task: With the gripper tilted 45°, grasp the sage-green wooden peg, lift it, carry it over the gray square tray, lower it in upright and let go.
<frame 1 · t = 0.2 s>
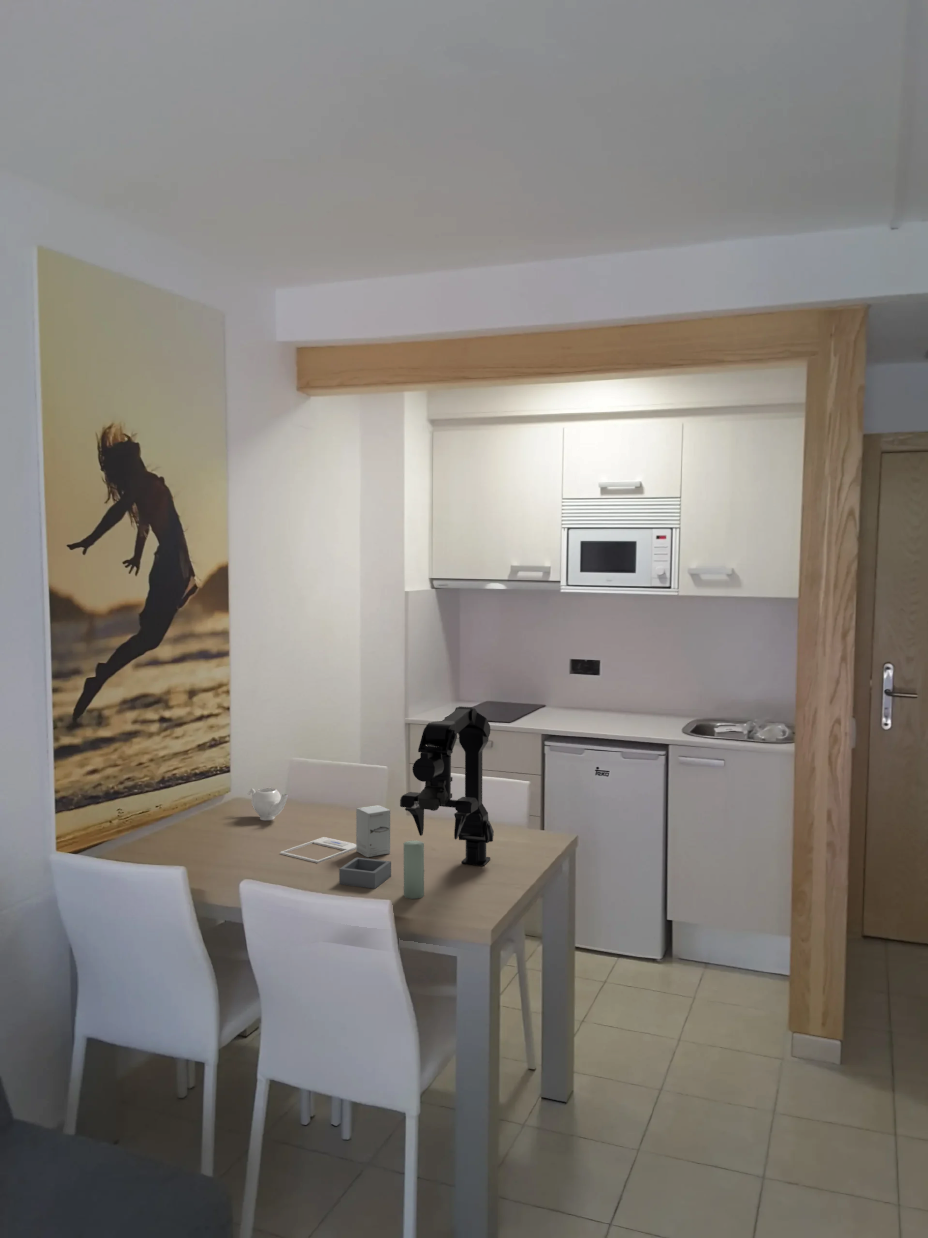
hand: (438, 837, 239), 15 cm above the table, tool pointing down, fingers open, 9 cm apart
supplement box: (373, 853, 274), on the table
gray square tray: (365, 880, 251), on the table
sage peg: (413, 895, 240), on the table
teapot: (267, 819, 309), on the table
photo frame: (321, 852, 276), on the table
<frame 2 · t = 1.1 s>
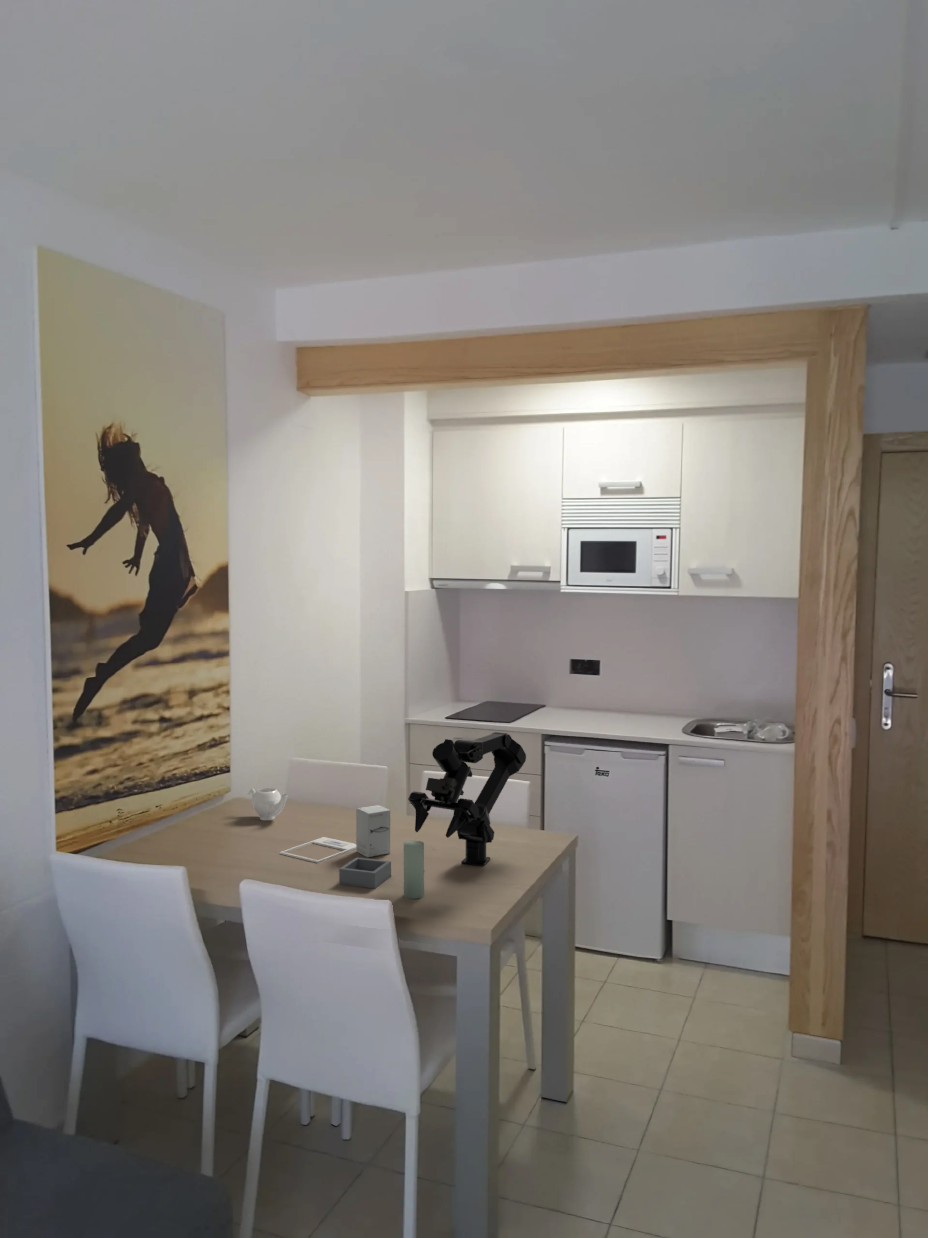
hand: (431, 834, 246), 13 cm above the table, tool tilted 45°, fingers open, 9 cm apart
nothing on the table moved.
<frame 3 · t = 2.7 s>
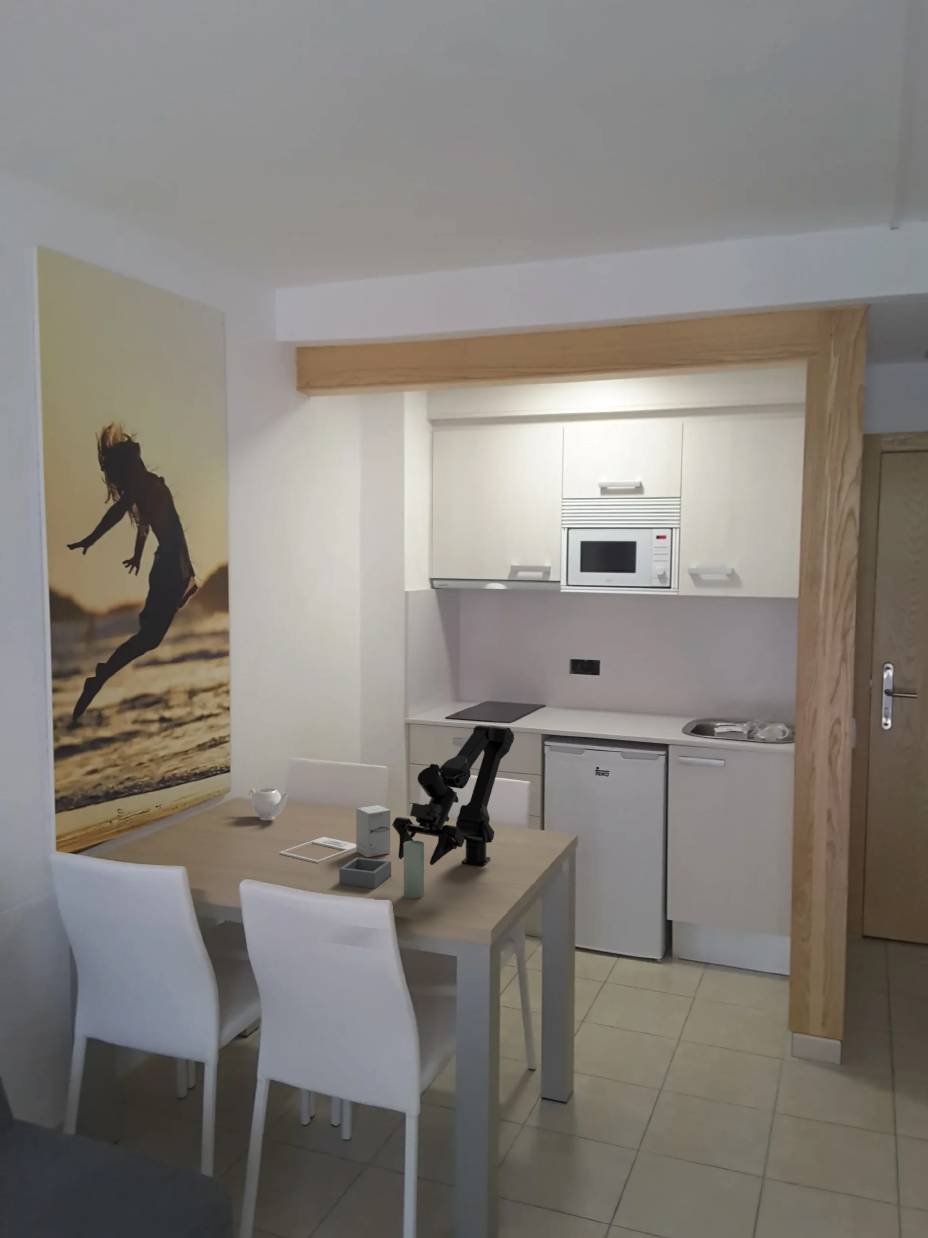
hand: (415, 861, 240), 8 cm above the table, tool tilted 45°, fingers open, 9 cm apart
nothing on the table moved.
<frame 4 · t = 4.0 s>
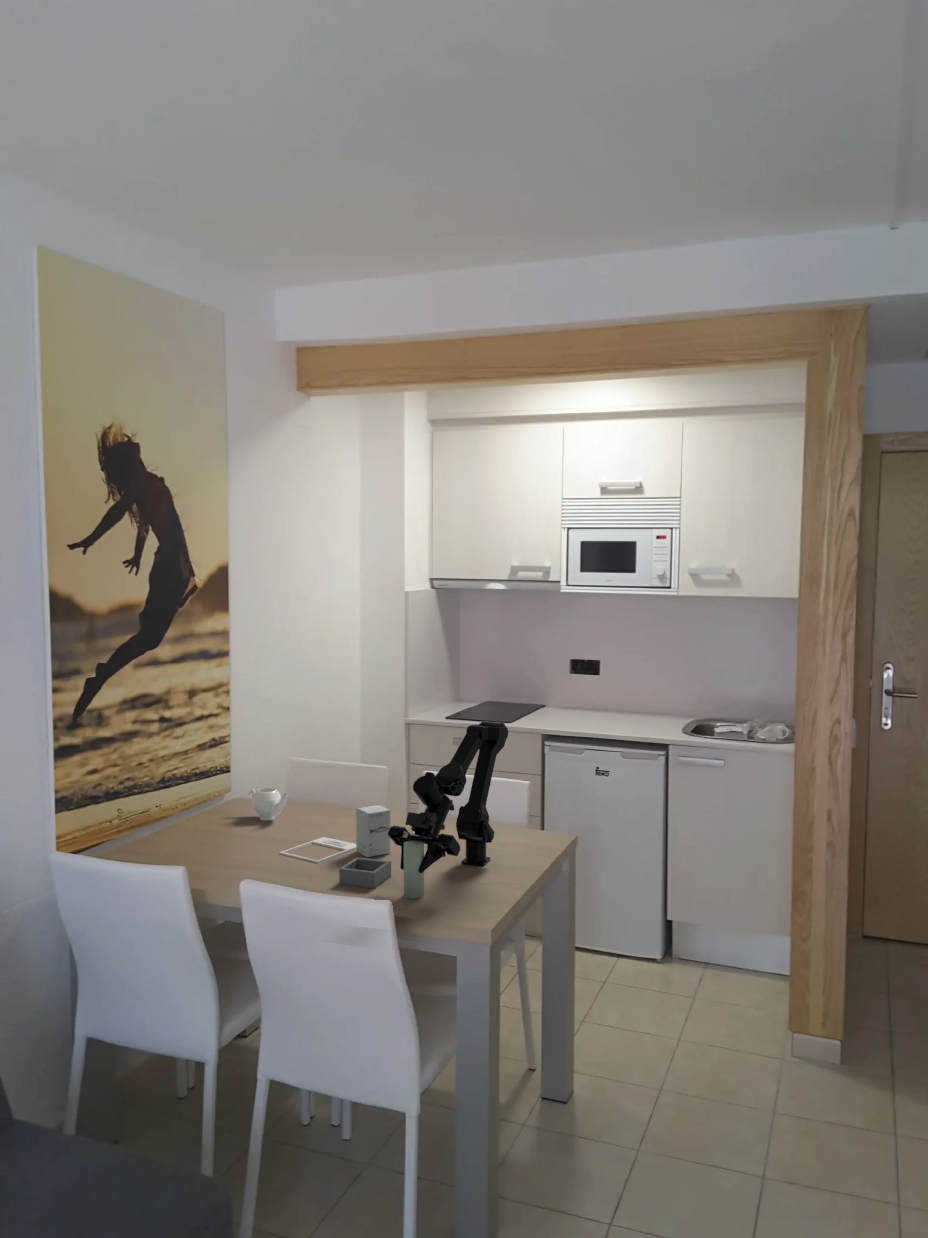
hand: (410, 870, 238), 7 cm above the table, tool tilted 45°, fingers closed on sage peg, 5 cm apart
sage peg: (413, 895, 240), on the table, touching gripper
everything else where it was.
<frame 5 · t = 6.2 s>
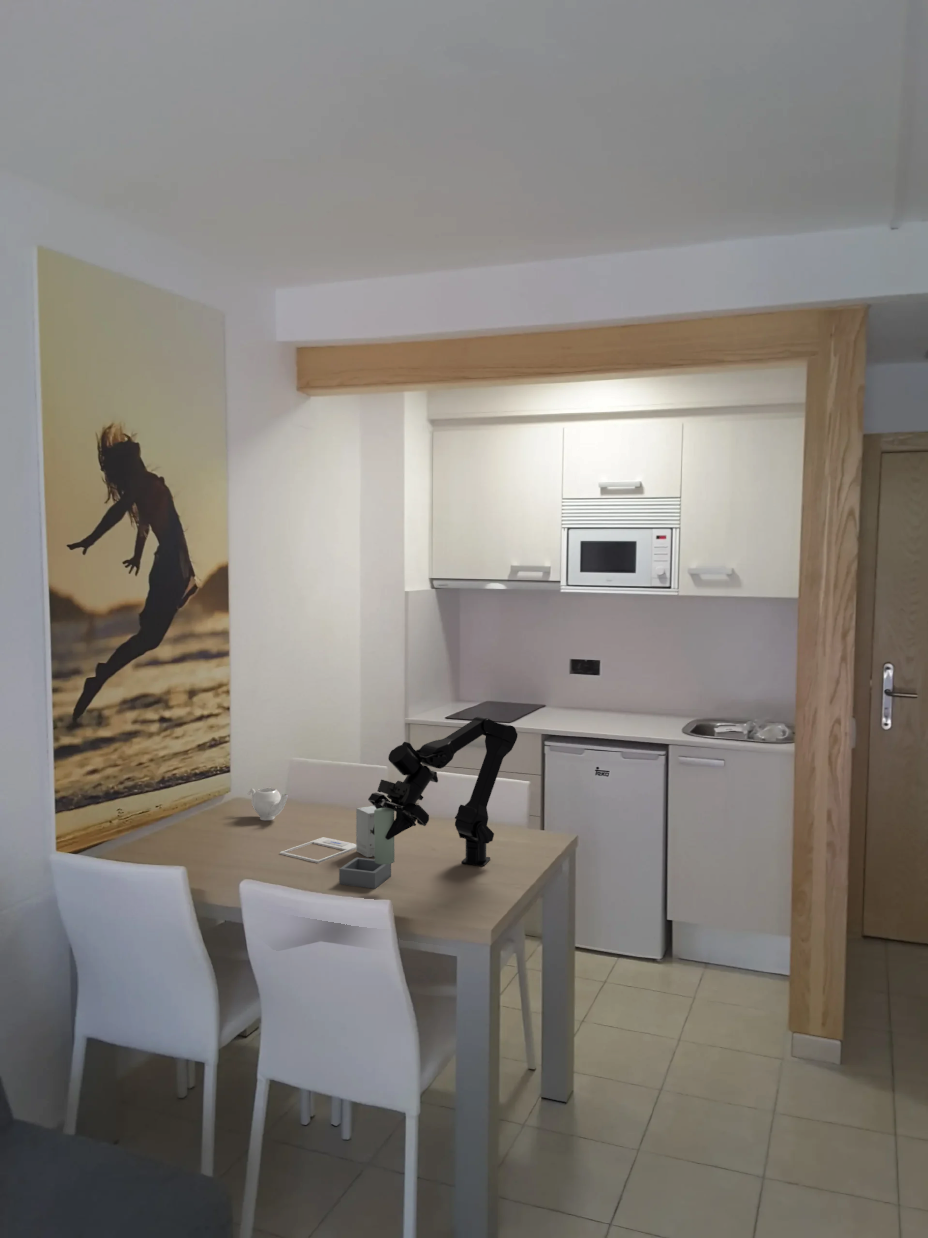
hand: (380, 836, 243), 14 cm above the table, tool tilted 45°, fingers closed on sage peg, 5 cm apart
sage peg: (384, 861, 244), point 7 cm above the table, touching gripper
everything else where it was.
when the fingers open (9 cm above the table, at t = 8.5 s): sage peg drops 1 cm, resting on gray square tray.
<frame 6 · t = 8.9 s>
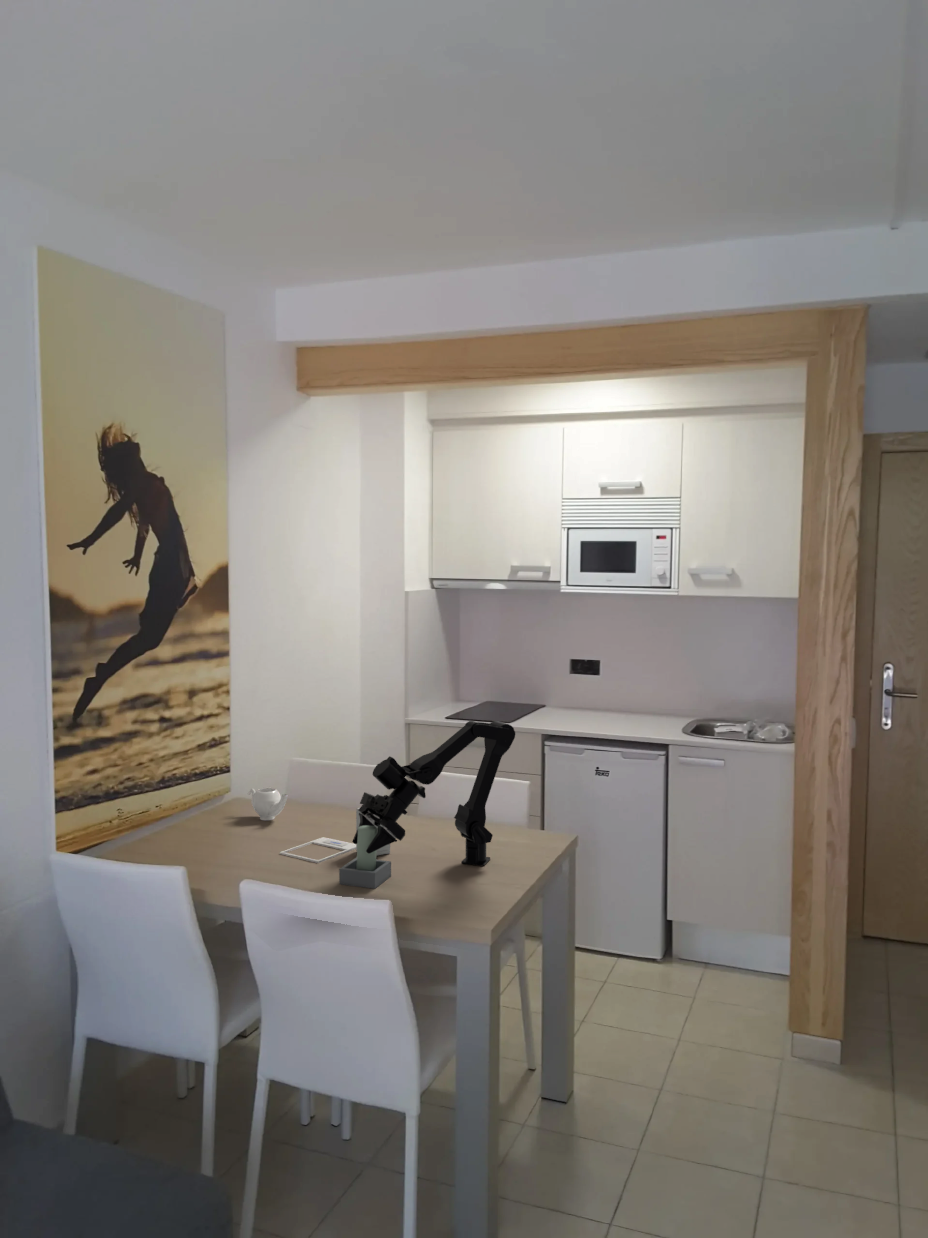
hand: (360, 847, 249), 9 cm above the table, tool tilted 45°, fingers open, 9 cm apart
sage peg: (365, 877, 250), point 1 cm above the table, touching gray square tray
everything else where it was.
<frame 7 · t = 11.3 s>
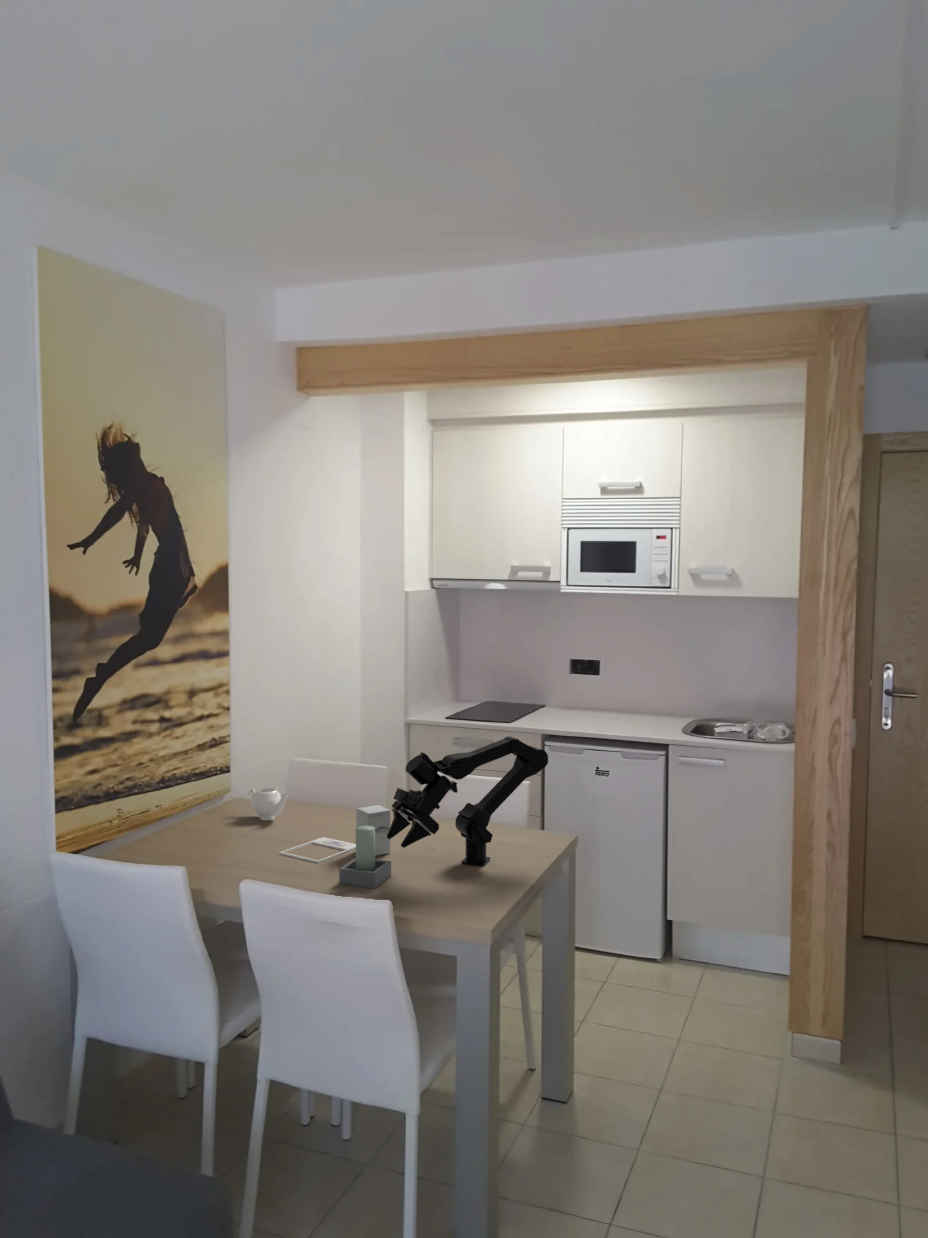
hand: (394, 842, 254), 9 cm above the table, tool tilted 45°, fingers open, 9 cm apart
nothing on the table moved.
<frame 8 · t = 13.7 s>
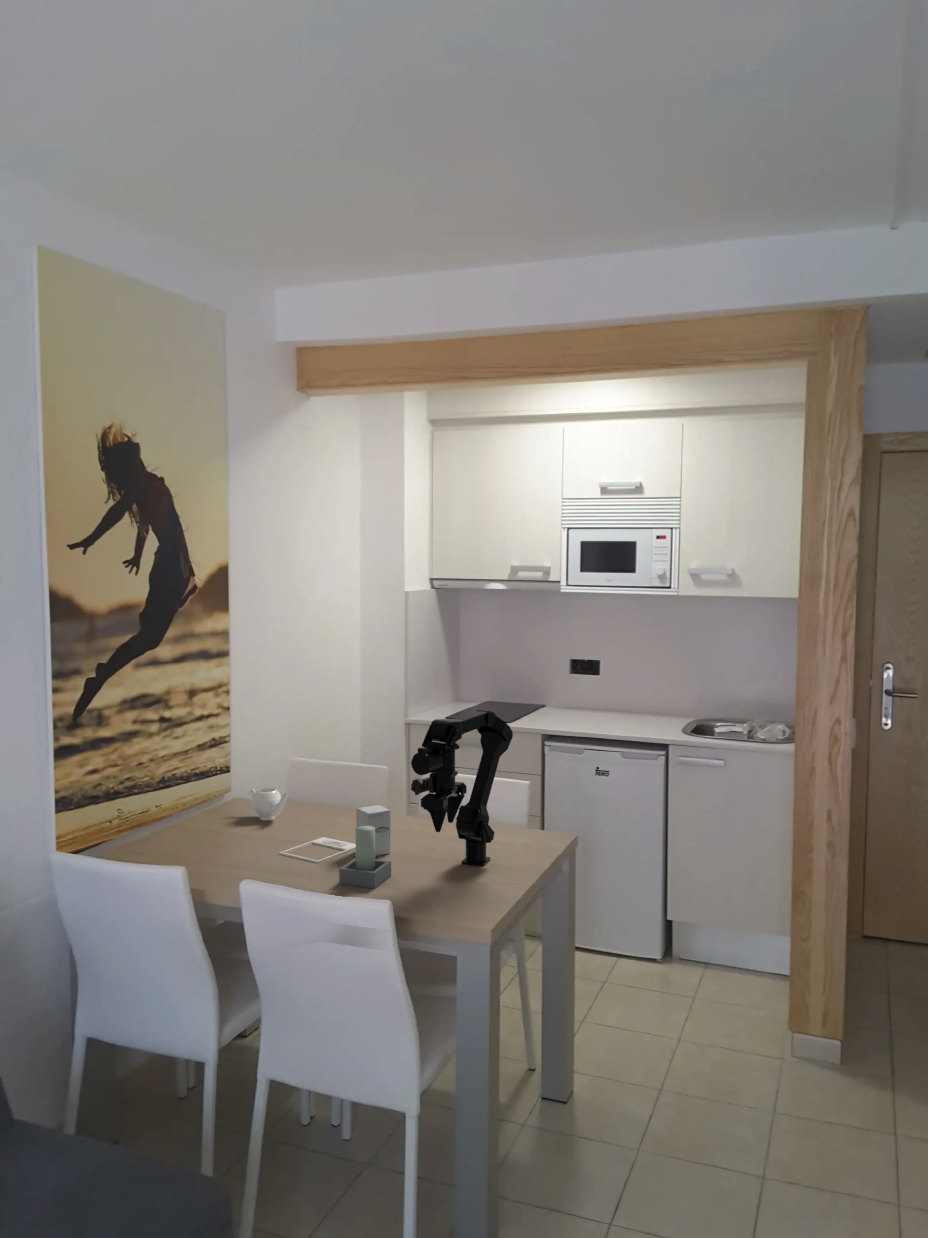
hand: (444, 827, 253), 13 cm above the table, tool pointing down, fingers open, 9 cm apart
nothing on the table moved.
at the end: sage peg 0.0 cm off-centre on the gray square tray, point 0.6 cm above the gray square tray's base; sage peg tilted 0°; the gripper is holding nothing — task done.
